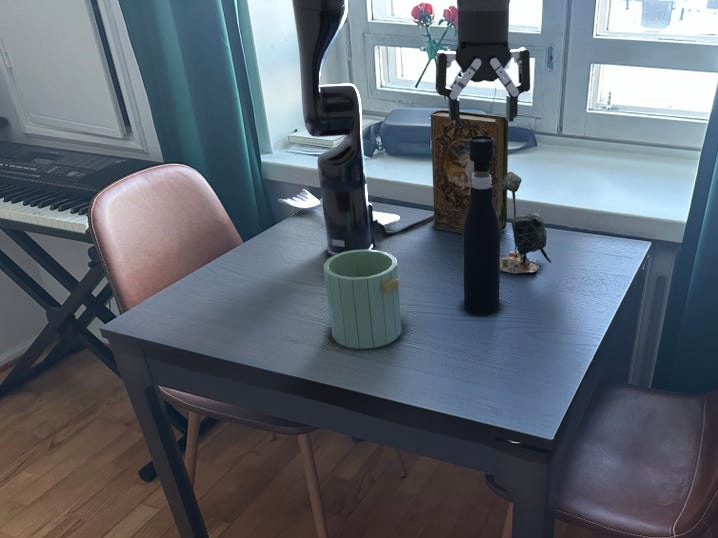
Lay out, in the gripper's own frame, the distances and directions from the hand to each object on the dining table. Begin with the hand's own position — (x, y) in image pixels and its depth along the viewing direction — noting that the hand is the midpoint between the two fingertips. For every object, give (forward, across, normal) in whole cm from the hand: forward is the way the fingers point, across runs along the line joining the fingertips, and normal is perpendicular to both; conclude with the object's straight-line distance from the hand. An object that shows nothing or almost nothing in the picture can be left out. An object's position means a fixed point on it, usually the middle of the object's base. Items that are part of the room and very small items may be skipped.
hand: (483, 122), depth 109 cm
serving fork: (+33, +23, -51) cm, 65 cm away
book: (+33, -5, -38) cm, 50 cm away
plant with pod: (+33, -11, -15) cm, 38 cm away
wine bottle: (+33, 0, 0) cm, 33 cm away
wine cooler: (+33, +21, +4) cm, 39 cm away
